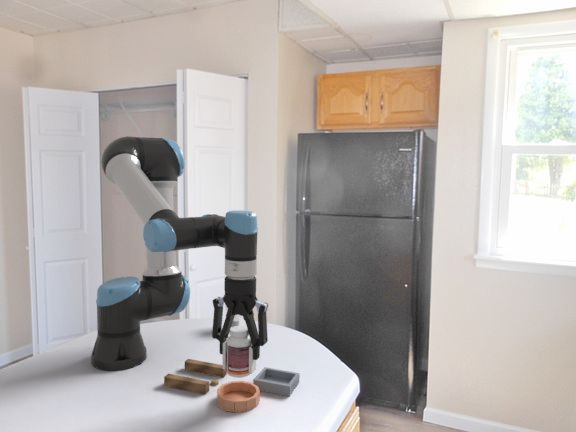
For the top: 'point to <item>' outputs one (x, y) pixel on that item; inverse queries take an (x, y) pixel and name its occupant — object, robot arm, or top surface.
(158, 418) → the top surface
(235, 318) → the light bulb
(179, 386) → the cradle
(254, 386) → the terracotta round dish
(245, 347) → the pill bottle
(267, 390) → the trough
